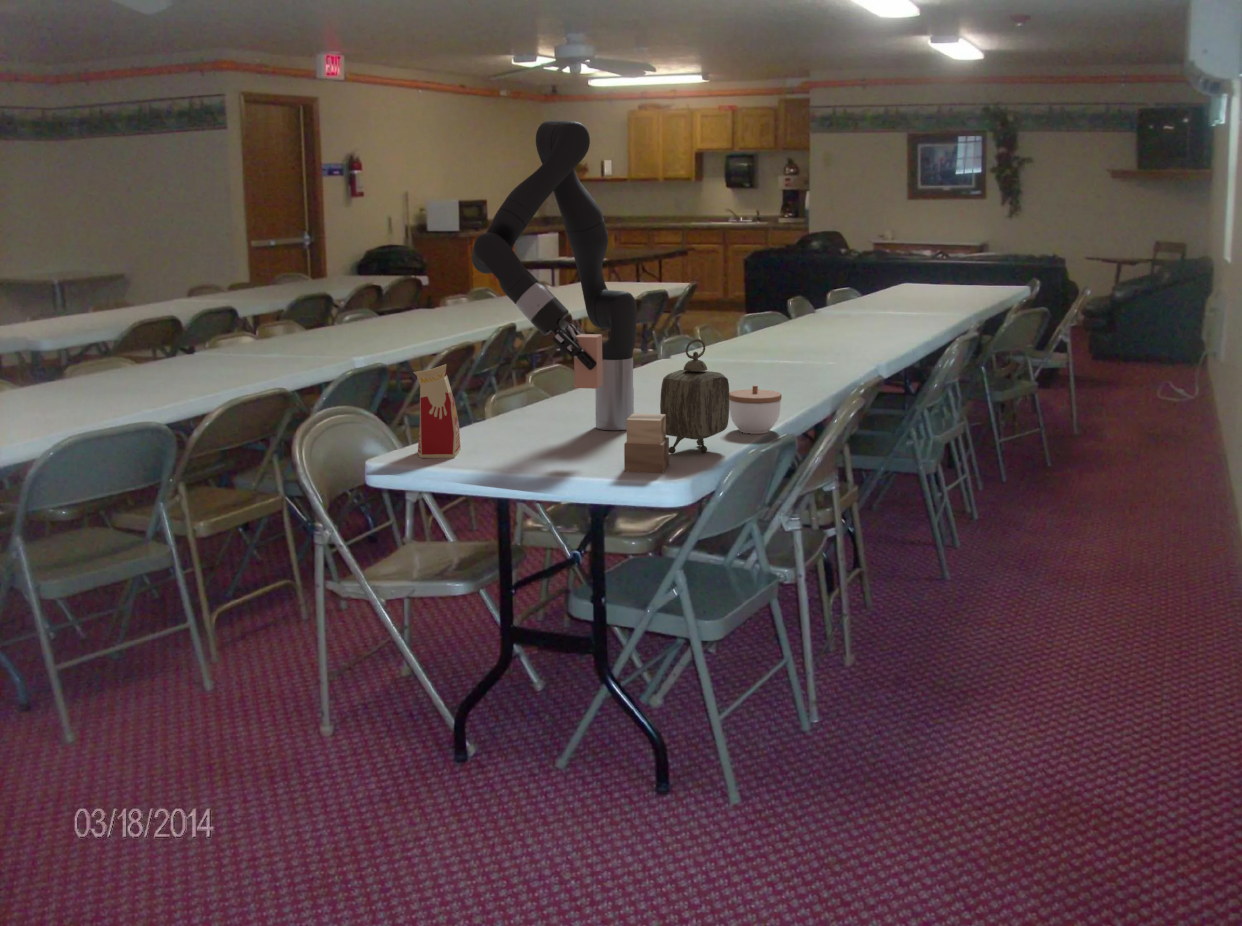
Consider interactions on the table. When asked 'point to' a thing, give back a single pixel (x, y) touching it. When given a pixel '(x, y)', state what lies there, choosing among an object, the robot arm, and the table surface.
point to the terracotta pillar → (581, 372)
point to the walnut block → (646, 457)
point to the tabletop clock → (694, 401)
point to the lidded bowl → (754, 409)
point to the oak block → (646, 428)
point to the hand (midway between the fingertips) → (596, 365)
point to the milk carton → (437, 416)
